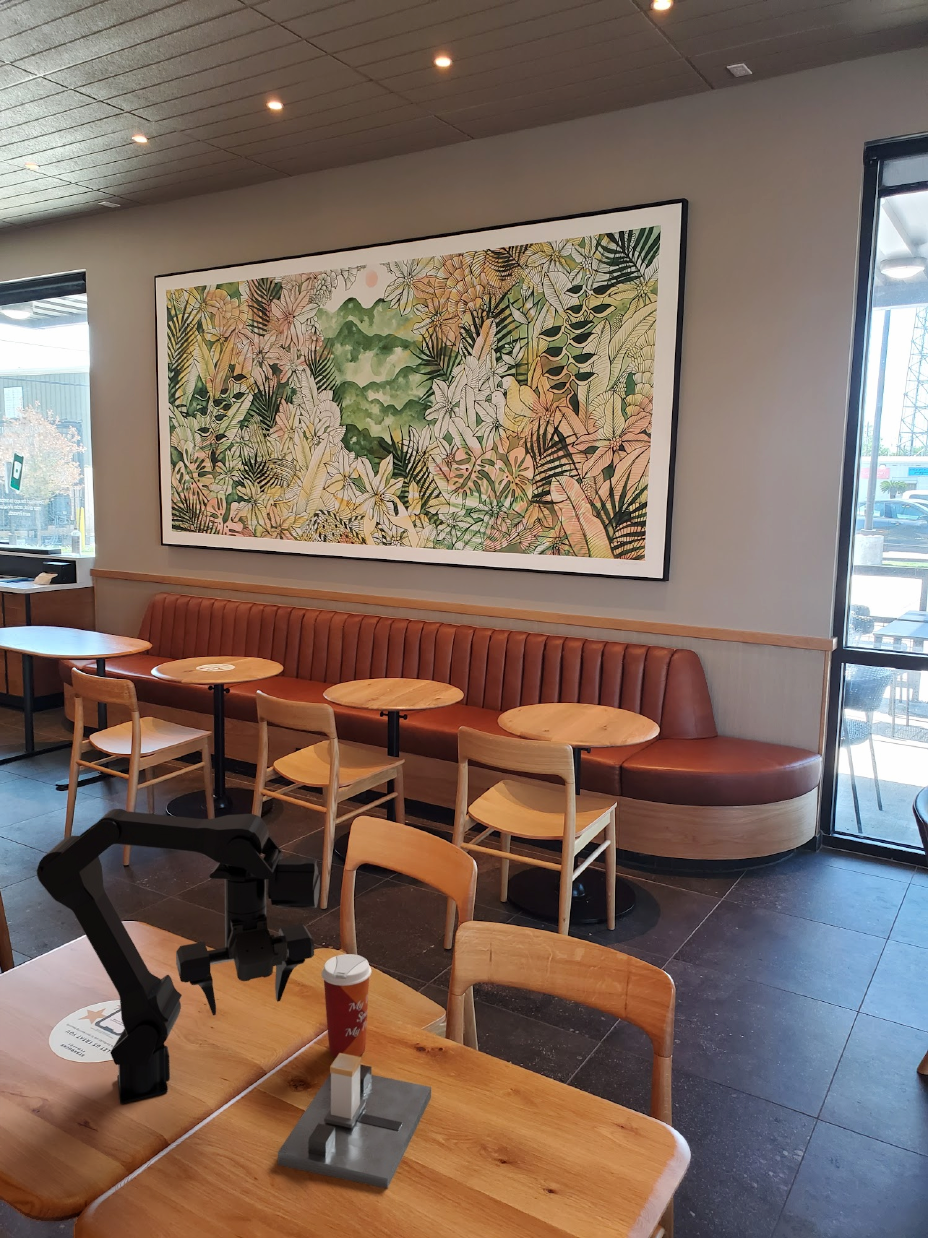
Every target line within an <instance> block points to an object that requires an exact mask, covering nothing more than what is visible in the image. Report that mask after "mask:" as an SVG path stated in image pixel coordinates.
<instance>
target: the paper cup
mask: <svg viewBox="0 0 928 1238" xmlns="http://www.w3.org/2000/svg"><path fill="white" fill-rule="evenodd" d="M371 975H372V968H371V966H370V965H369V961H368V960H367V958H365V957H363V956H362V955H359V954H353V953H352V954H351V953H349V954H348V953H346V954H339V955H335V956H332V957H331V958H329V959H327V961H326V962H325V963H324V966H323V968H322V971H321V978H322V979H323V983H324V987H323V988H324V998H325V1012H326V1026H327V1027H326V1028H327V1039H328V1049H329V1054H330V1055H331V1056H332V1057H333V1058H334V1059H336V1058H337V1056H338V1055H339V1053H343V1054H348V1055H353V1056H357V1057H361V1055H363V1054H364V1052H365V1050H366V1045H367V1028H368V1008H369V1007H368V1006H369V988H370V976H371Z"/></svg>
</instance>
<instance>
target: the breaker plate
mask: <svg viewBox="0 0 928 1238" xmlns="http://www.w3.org/2000/svg"><path fill="white" fill-rule="evenodd" d="M431 1098H432V1086H428V1085H423V1084H418V1083H413V1082H409V1081H404V1080H400V1079H395V1078H389V1077H385V1076H381V1075H375V1074H372V1066H371V1065H370V1066H369V1065H365V1064H362V1063H361V1064H360V1099H361V1100H366V1104H365V1106H364V1108H363V1110H362V1111H361V1113H360V1115H359V1117H358V1118H357V1120H356V1122H355V1124H354V1125H353V1127H352V1128H349V1127H344V1126H340V1125H336V1124H331V1123H327V1122H324V1118H325V1117H326V1115H327V1113H328V1112H329V1110H330V1109H331V1073H330V1072H329V1075H328V1076H327V1078H326V1079H325V1081H324V1082H323V1084H322V1085H321V1087H320V1088H319V1089H318V1091H317V1093H316V1094H315V1095H314V1097H313V1098H312V1101H311V1102H310V1103H309V1105H308V1106H307V1107H306V1109H305V1111H304V1112H303V1114H302V1115H301V1117H300V1118H299V1120H298V1121H297V1123H296V1124H295V1126H293V1129H292V1130H291V1132H290V1133H289V1135H288V1136H287V1138H286V1139H285V1141H284V1142H283V1143H282V1146H281V1147H280V1148H279V1150H278V1151H277V1165H278V1166H282V1167H286V1168H289V1169H290V1168H292V1169H295V1170H300V1171H305V1172H308V1173H309V1172H310V1173H314V1174H319V1175H323V1176H328V1177H331V1178H332V1177H333V1178H337V1179H342V1180H347V1181H350V1182H351V1181H352V1182H356V1183H360V1184H364V1185H368V1186H373V1185H374V1187H378V1188H384V1189H388V1188H389V1187H390V1184H391V1182H392V1181H393V1178H394V1176H395V1174H396V1171H397V1170H398V1168H399V1166H400V1164H401V1162H402V1159H403V1157H404V1156H405V1153H406V1151H407V1149H408V1146H409V1144H410V1142H411V1140H412V1139H413V1136H414V1134H415V1132H416V1131H417V1128H418V1125H419V1123H420V1122H421V1119H422V1118H423V1115H424V1114H425V1111H426V1108H427V1106H428V1105H429V1103H430V1101H431ZM365 1183H366V1184H365Z"/></svg>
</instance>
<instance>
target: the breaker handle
mask: <svg viewBox="0 0 928 1238" xmlns="http://www.w3.org/2000/svg"><path fill="white" fill-rule="evenodd" d="M360 1064H361V1065H362V1057H361V1056H359V1057H357V1056H353V1055H348V1054H343V1053H339V1055H338V1056H337V1058H334V1061H333V1062H331V1065H330V1066H329V1071H330V1072H329V1074H330V1073H331V1109H330V1110H329V1112H328V1113H327V1115H326V1117H325V1118H324V1122H327V1123H331V1124H336V1125H340V1126H344V1127H349V1128H352V1127H353V1125H354V1124H355V1122H356V1120H357V1118H358V1117H359V1115H360V1113H361V1111H362V1110H363V1108H364V1106H365V1104H366V1100H361V1099H360Z"/></svg>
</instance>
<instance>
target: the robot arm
mask: <svg viewBox="0 0 928 1238" xmlns="http://www.w3.org/2000/svg"><path fill="white" fill-rule="evenodd" d="M269 832H270V831H269V828H268V825H267V823H266V822H265V821H264V820H263V818H262V817H261V816H259V815H258V814H254V813H243V814H242V813H241V814H227V815H223V816H218V817H213V818H196V817H195V818H194V817H186V816H177V815H175V816H174V815H168V814H167V815H165V814H164V815H163V814H154V813H147V812H137V811H127V810H126V809H123V808H113V809H110V810H108V812H107V813H105V815H102V817H101V818H100V819H98V821H96V822H95V823H94V824H93V825H91V826H90V827H89V828H87V829H86V830H85V831H84V832H82V833H81V834H80V835H70V836H67V837H65V838H63V839H62V840H60V841H59V842H58V843H57V844H56V845H55V846H54V847H53V848H52V849H51V850H49V851H48V852H46V854H45V855H44V856H43V857H42V858H41V859H40V861H39V863H38V866H37V869H36V877H37V879H38V881H39V883H40V885H42V887H43V888H44V889H45V891H46V892H47V893H48V894H49V896H51V898H52V899H53V900H54V901H55V902H57V903H59V904H60V905H62V906H64V907H66V908H68V909H69V910H71V912H72V913H73V915H74V916H75V919H76V920H77V922H78V924H79V925H80V927H81V929H82V931H83V933H84V934H85V936H86V939H87V940H88V942H89V943H90V945H91V947H92V949H93V951H94V952H95V954H96V956H97V958H98V959H99V961H100V963H101V965H102V966H103V968H104V971H105V972H106V974H107V976H108V978H109V979H110V981H111V982H112V985H113V986H114V988H115V990H116V991H117V993H118V996H119V1002H120V1005H119V1006H120V1017H121V1021H122V1025H123V1028H124V1029H123V1030H122V1032H121V1034H120V1035H119V1036H118V1039H117V1040H116V1042H115V1044H114V1045H113V1047H112V1048H111V1050H110V1055H111V1058H112V1060H113V1062H114V1064H115V1066H117V1069H118V1074H117V1075H116V1076H117V1077H116V1078H117V1079H116V1080H117V1088H118V1089H117V1090H118V1097H119V1103H120V1104H122V1105H124V1104H127V1103H132V1102H136V1101H137V1102H138V1101H140V1100H145V1099H148V1098H152V1097H156V1096H161V1095H165V1094H167V1093H168V1092H169V1090H168V1089H169V1088H168V1082H169V1081H170V1080H171V1077H170V1075H171V1074H170V1072H171V1071H170V1070H171V1068H170V1065H171V1064H170V1053H169V1048H168V1047H169V1046H167V1045H165V1043H166V1041H167V1039H168V1037H169V1035H170V1034H171V1032H172V1030H173V1028H174V1026H175V1024H176V1022H177V1020H178V1018H179V1016H180V1013H181V1009H182V1004H181V1001H180V1000H181V998H182V994H181V993H180V992H179V990H177V989H176V987H175V985H174V982H173V979H172V977H171V976H170V975H169V974H166V975H164V976H163V977H162V978H159V977H158V976H156V975H155V974H152V973H151V971H150V970H149V969H148V967H147V965H146V963H145V961H144V960H143V958H142V956H141V954H140V952H139V951H138V949H137V946H136V945H135V943H134V942H133V940H132V938H131V936H130V934H129V932H128V931H127V929H126V926H125V925H124V923H123V921H122V919H121V917H120V916H119V915H118V913H117V911H116V909H115V907H114V905H113V903H112V901H111V900H110V898H109V896H108V894H107V893H106V891H105V888H104V877H103V866H102V862H101V859H100V857H99V856H100V855H102V854H103V853H104V852H105V851H106V850H107V849H109V848H110V847H111V846H113V845H120V846H122V845H123V846H129V847H130V846H131V847H140V848H142V847H143V848H149V849H159V850H170V851H180V852H189V853H190V852H191V853H196V854H200V855H204V856H205V857H206V858H208V859H209V860H211V861H213V862H214V863H216V864H215V865H214V867H213V869H212V871H210V873H209V878H210V879H212V880H224V929H225V930H224V936H225V937H224V938H225V941H224V943H225V945H224V946H225V947H220V948H219V947H218V948H216V949H209V950H208V949H207V945H206V941H200V942H195V943H190V944H183V945H180V946H179V947H178V948H177V950H176V951H175V962H176V963H175V964H176V968H177V972H178V976H179V981H180V982H181V983H189V984H190V985H191V986H199V987H200V989H201V990H202V991H203V994H204V997H205V998H206V1001H207V1002H208V1006H209V1008H210V1011H211V1014H212V1016H217V1015H216V1014H217V1003H216V997H215V992H214V991H215V990H214V984H213V983H214V982H213V977H212V973H211V966H212V965H217V964H223V963H226V962H227V963H229V962H233V961H234V966H235V970H236V976H237V979H238V980H239V981H240V982H249V981H251V980H253V979H254V980H255V979H258V978H269V977H270V976H272V974H273V973H274V967H275V983H274V984H275V985H274V988H275V989H274V991H275V1000H276V1002H277V1003H278V1002H281V1000H282V997H283V994H284V992H285V989H286V986H287V983H288V981H289V978H290V976H291V974H292V972H293V970H294V969H295V968H297V966H299V965H303V964H305V961H306V960H308V959H312V957H314V956H315V943H314V939H313V937H312V935H311V933H310V931H309V930H308V927H306V926H305V925H304V924H303V923H302V924H294V925H290V926H289V925H288V926H284V927H280V928H279V930H278V936H275V934H270V931H269V929H268V919H267V918H268V917H267V898H268V900H269V901H270V904H271V906H275V907H276V908H298V909H299V908H303V909H304V908H307V909H308V908H309V909H310V908H314V909H315V908H317V906H318V903H319V895H320V886H321V885H320V884H321V883H320V882H321V879H320V876H321V875H320V874H319V867H318V866H317V858H315V857H313V858H312V857H308V858H303V859H302V858H301V859H300V858H299V859H298V858H282V857H283V854H284V852H283V850H282V848H280V847H279V845H278V844H277V843H276V841H275V840H274V839H273V837H271V834H270V833H269ZM261 854H263V855H264V856H263V857H262V855H261ZM267 880H268V884H267ZM267 895H268V896H267Z"/></svg>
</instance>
